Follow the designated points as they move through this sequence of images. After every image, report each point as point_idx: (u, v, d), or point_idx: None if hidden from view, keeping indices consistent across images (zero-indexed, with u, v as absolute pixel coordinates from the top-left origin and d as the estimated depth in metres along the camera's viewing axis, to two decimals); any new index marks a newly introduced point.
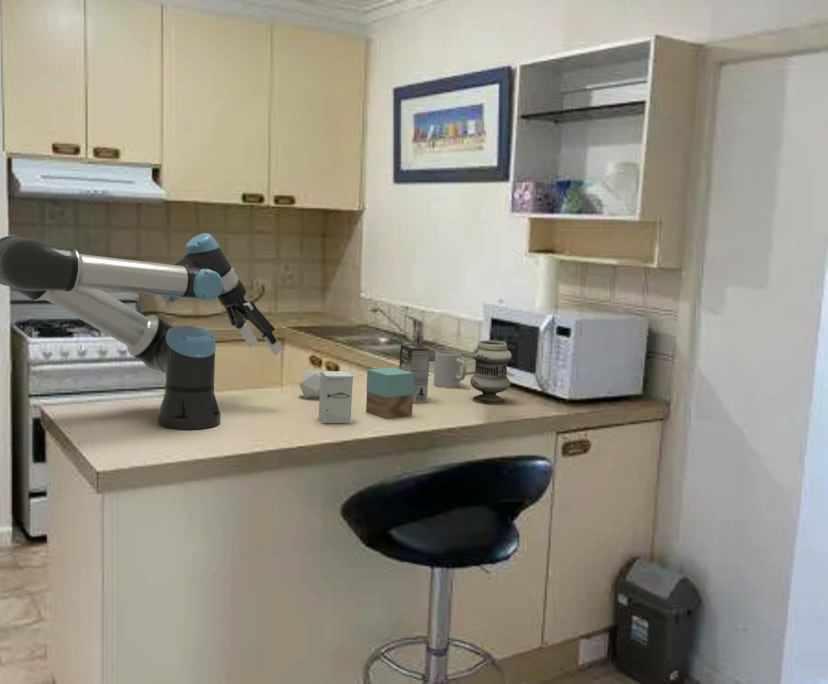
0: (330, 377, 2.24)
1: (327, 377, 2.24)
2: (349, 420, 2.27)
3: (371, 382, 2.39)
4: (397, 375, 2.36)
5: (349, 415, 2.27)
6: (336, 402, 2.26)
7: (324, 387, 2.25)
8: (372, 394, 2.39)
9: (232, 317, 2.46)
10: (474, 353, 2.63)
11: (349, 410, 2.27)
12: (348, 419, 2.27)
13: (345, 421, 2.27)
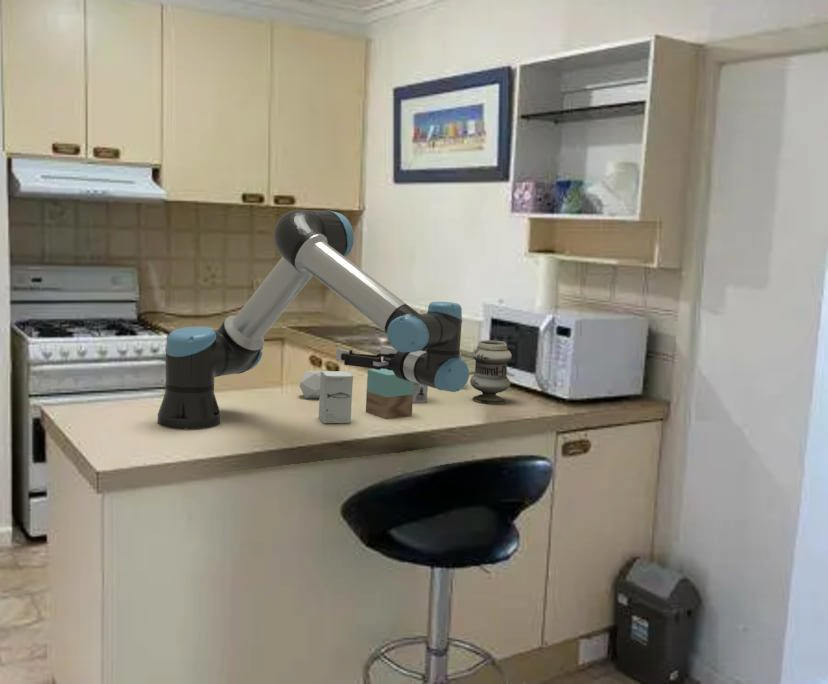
0: (330, 377, 2.24)
1: (327, 377, 2.24)
2: (349, 420, 2.27)
3: (371, 382, 2.39)
4: None
5: (349, 415, 2.27)
6: (336, 402, 2.26)
7: (324, 387, 2.25)
8: (372, 394, 2.39)
9: None
10: (474, 353, 2.63)
11: (349, 410, 2.27)
12: (348, 419, 2.27)
13: (345, 421, 2.27)
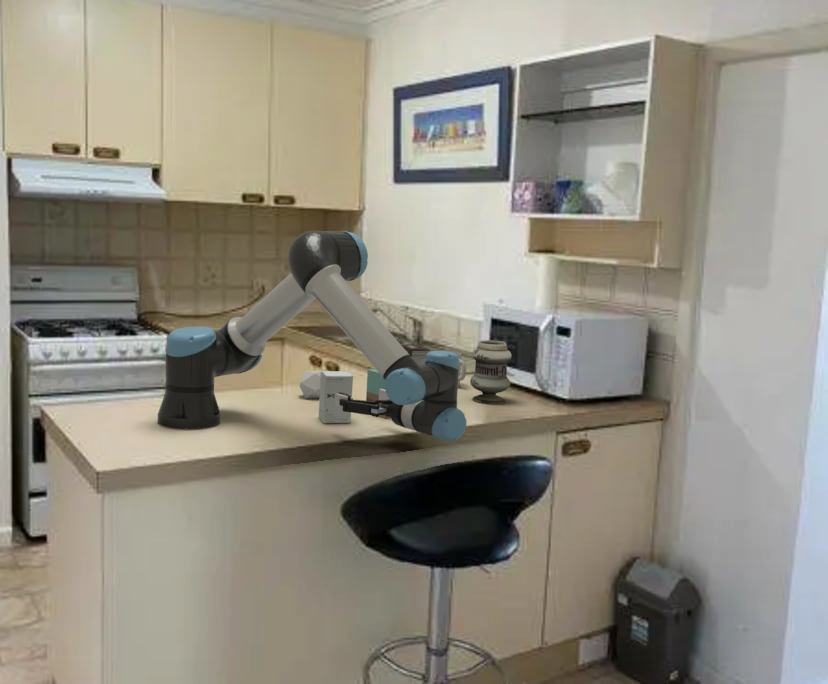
0: (330, 377, 2.24)
1: (327, 377, 2.24)
2: (349, 420, 2.27)
3: (371, 382, 2.39)
4: None
5: (349, 415, 2.27)
6: None
7: (324, 387, 2.25)
8: (372, 394, 2.39)
9: None
10: (474, 353, 2.63)
11: None
12: (348, 419, 2.27)
13: (345, 421, 2.27)
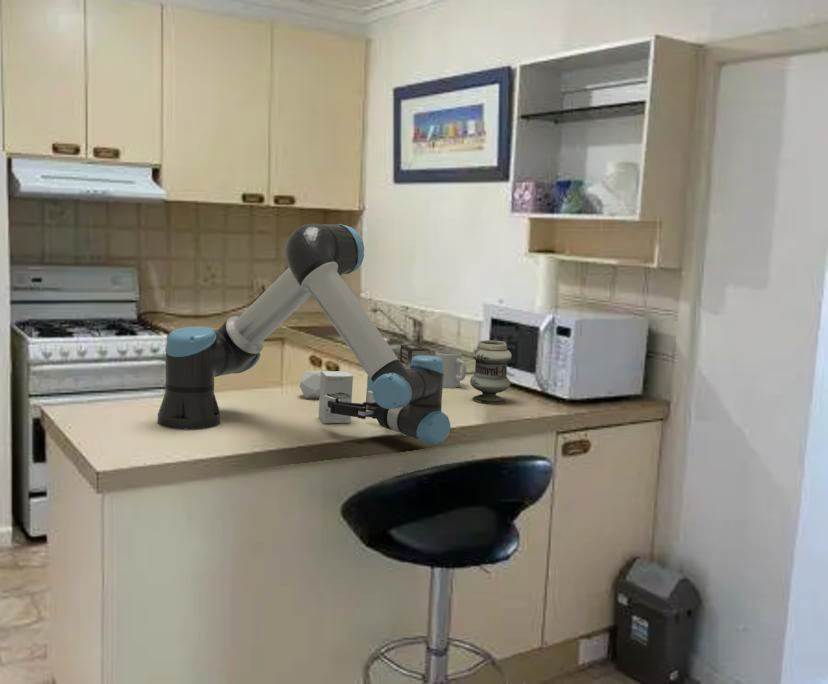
0: (330, 377, 2.24)
1: (327, 377, 2.24)
2: (349, 420, 2.27)
3: (371, 382, 2.39)
4: None
5: None
6: None
7: (324, 387, 2.25)
8: None
9: None
10: (474, 353, 2.63)
11: None
12: (348, 419, 2.27)
13: (345, 421, 2.27)
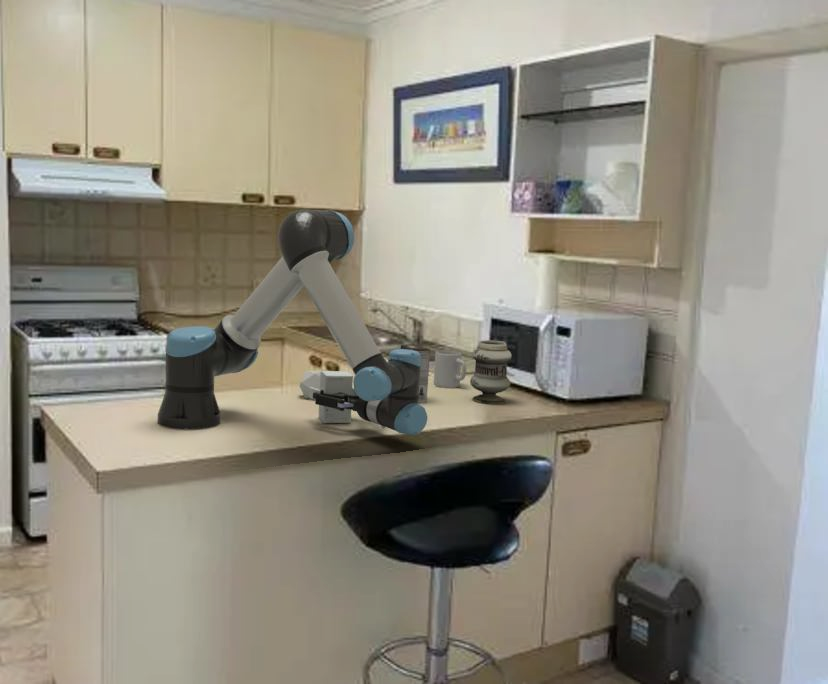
0: (330, 377, 2.24)
1: (327, 377, 2.24)
2: (349, 420, 2.27)
3: None
4: None
5: (349, 415, 2.27)
6: None
7: (324, 387, 2.25)
8: None
9: None
10: (474, 353, 2.63)
11: (349, 410, 2.27)
12: (348, 419, 2.27)
13: (345, 421, 2.27)
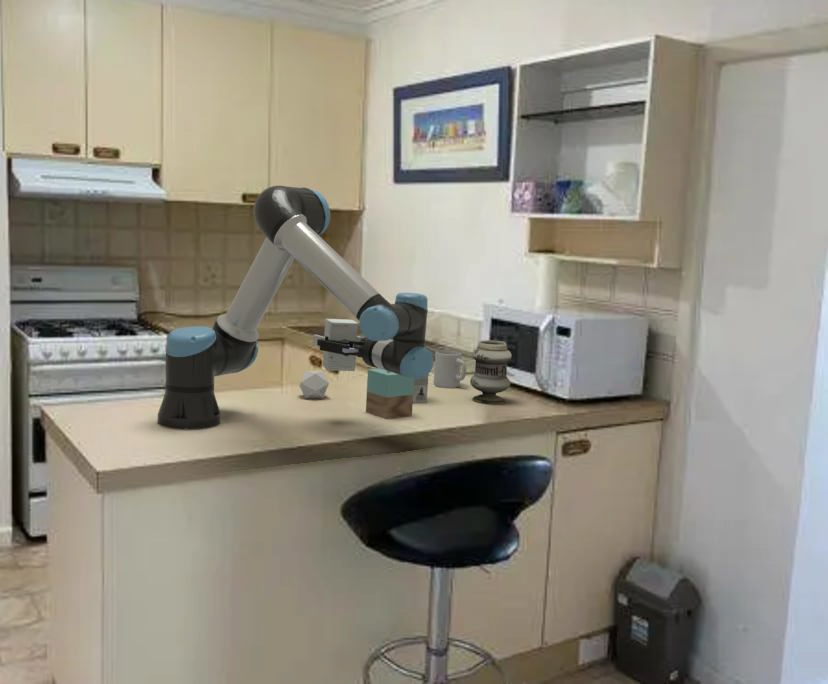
0: (335, 324, 2.22)
1: (332, 323, 2.22)
2: (353, 368, 2.25)
3: (371, 382, 2.39)
4: (398, 375, 2.36)
5: (354, 363, 2.25)
6: None
7: (329, 334, 2.23)
8: (372, 394, 2.39)
9: None
10: (474, 353, 2.63)
11: (354, 358, 2.25)
12: (352, 367, 2.25)
13: (349, 369, 2.25)
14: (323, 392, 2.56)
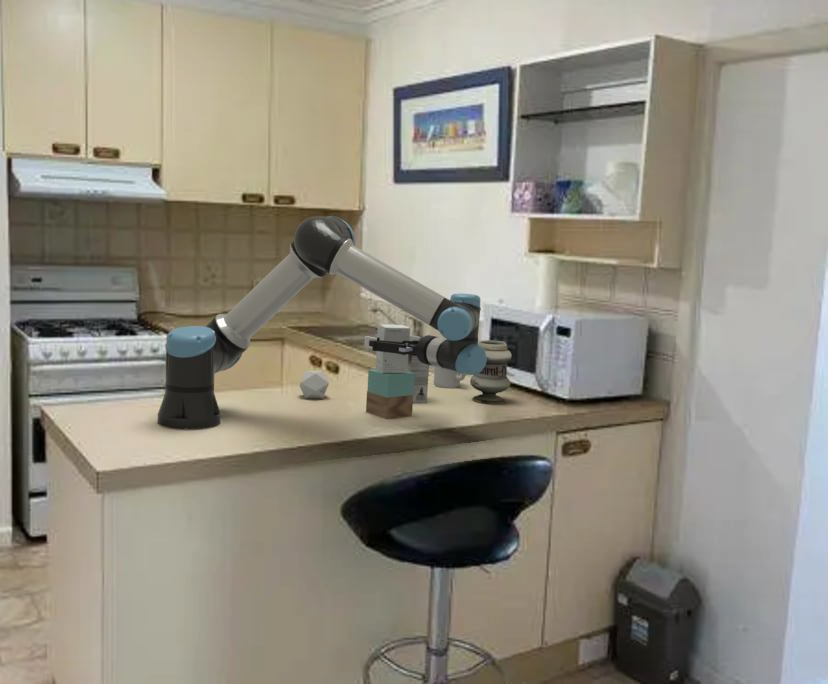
0: (389, 328, 2.34)
1: (386, 328, 2.34)
2: (406, 370, 2.37)
3: (372, 382, 2.39)
4: (398, 375, 2.36)
5: (406, 366, 2.37)
6: (394, 353, 2.35)
7: (383, 338, 2.35)
8: (372, 394, 2.39)
9: None
10: None
11: (406, 361, 2.37)
12: (405, 369, 2.37)
13: (402, 371, 2.37)
14: (323, 392, 2.56)
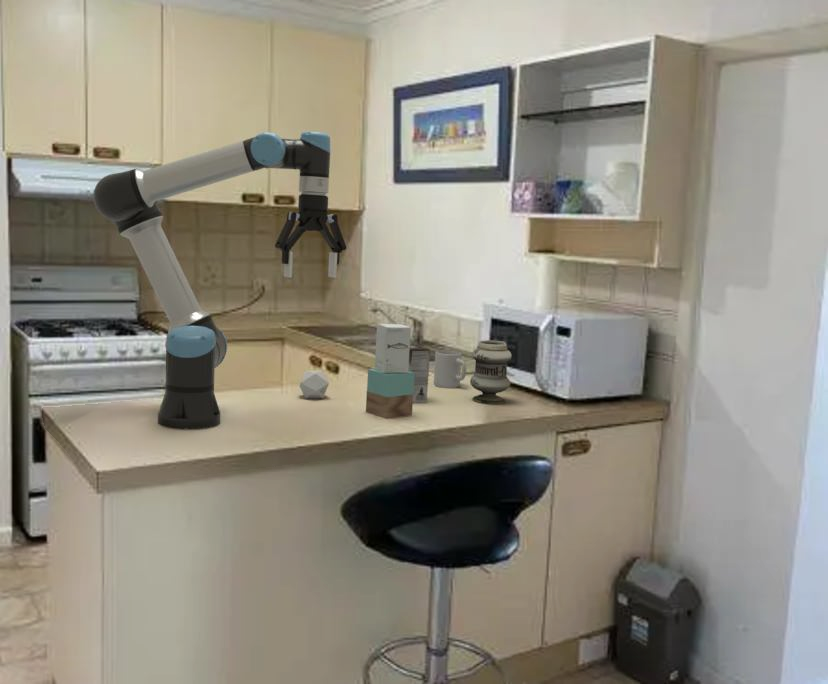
0: (390, 328, 2.34)
1: (387, 328, 2.34)
2: (407, 370, 2.38)
3: (372, 381, 2.39)
4: (398, 375, 2.36)
5: (407, 365, 2.38)
6: (395, 352, 2.36)
7: (384, 338, 2.35)
8: (372, 394, 2.40)
9: (334, 238, 2.32)
10: (474, 353, 2.63)
11: (407, 360, 2.37)
12: (406, 369, 2.38)
13: (403, 371, 2.37)
14: (323, 392, 2.56)
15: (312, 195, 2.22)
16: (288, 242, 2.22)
